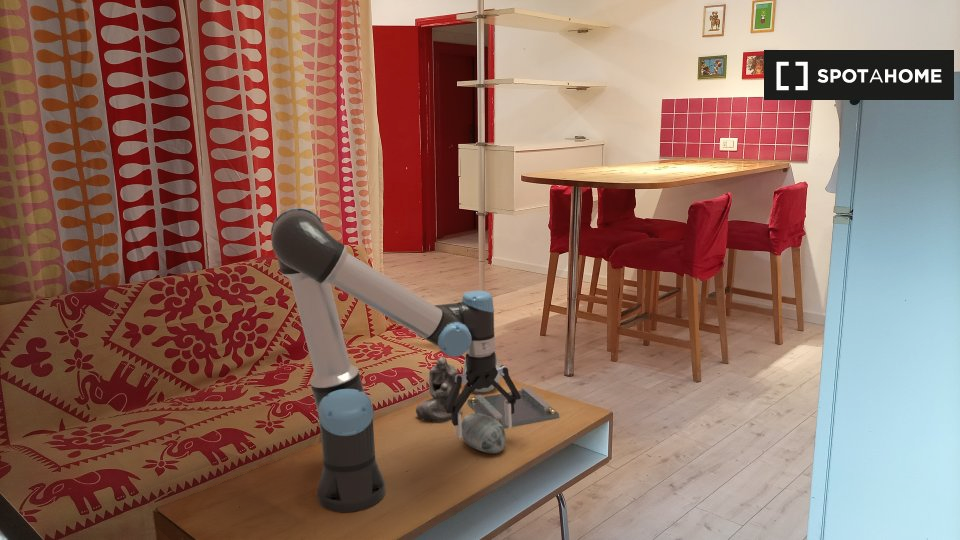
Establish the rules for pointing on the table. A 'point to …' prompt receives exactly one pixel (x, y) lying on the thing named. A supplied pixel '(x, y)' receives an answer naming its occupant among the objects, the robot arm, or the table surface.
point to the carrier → (524, 408)
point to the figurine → (438, 393)
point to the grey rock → (483, 433)
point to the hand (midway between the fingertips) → (484, 431)
